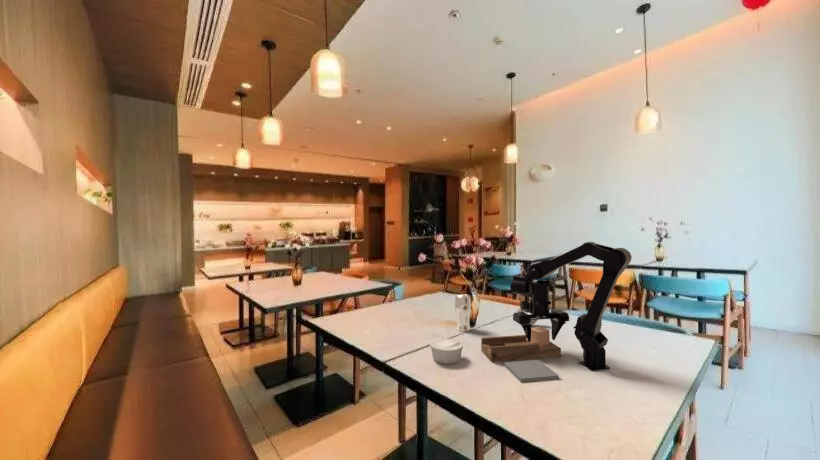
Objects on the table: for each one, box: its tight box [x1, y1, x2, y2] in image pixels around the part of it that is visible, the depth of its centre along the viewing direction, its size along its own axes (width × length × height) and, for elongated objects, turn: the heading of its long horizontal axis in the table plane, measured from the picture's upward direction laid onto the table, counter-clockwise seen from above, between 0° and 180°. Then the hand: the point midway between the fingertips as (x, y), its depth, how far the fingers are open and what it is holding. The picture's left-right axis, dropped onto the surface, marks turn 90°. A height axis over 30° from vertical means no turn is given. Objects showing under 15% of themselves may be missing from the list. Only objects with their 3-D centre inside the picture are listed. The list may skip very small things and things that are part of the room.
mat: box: [503, 359, 560, 383], centre depth 106 cm, size 12×12×1 cm
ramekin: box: [429, 338, 464, 365], centre depth 118 cm, size 11×11×5 cm
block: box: [530, 326, 551, 346], centre depth 122 cm, size 5×5×5 cm
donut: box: [515, 305, 538, 326], centre depth 153 cm, size 10×4×10 cm, turn 85°
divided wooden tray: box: [480, 334, 562, 363], centre depth 120 cm, size 10×25×5 cm, turn 98°
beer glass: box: [454, 293, 472, 333], centre depth 149 cm, size 7×7×15 cm
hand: (541, 340), depth 121 cm, fingers open, 9 cm apart
